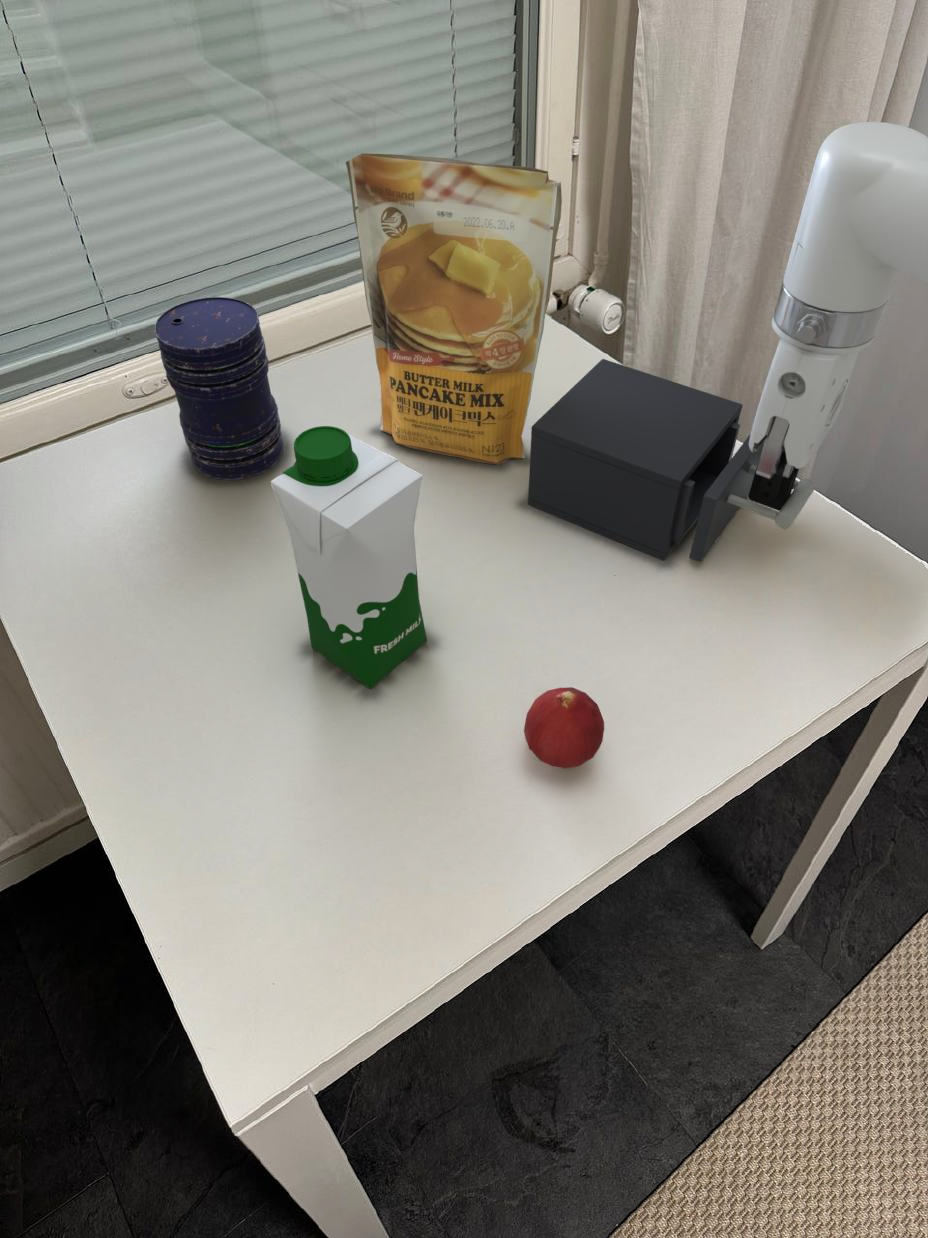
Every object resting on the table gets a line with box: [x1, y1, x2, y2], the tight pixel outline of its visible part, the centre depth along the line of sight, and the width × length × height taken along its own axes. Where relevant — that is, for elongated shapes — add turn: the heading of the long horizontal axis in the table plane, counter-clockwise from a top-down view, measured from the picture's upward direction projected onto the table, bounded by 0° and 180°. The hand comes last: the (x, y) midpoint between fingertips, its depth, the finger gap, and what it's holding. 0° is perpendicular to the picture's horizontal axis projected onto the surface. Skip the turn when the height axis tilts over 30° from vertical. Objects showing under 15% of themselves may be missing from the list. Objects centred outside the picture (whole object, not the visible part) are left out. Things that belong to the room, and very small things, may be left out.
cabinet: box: [527, 358, 743, 561], centre depth 86 cm, size 15×14×9 cm
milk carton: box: [270, 425, 428, 690], centre depth 69 cm, size 9×9×20 cm
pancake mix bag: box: [345, 152, 563, 466], centre depth 86 cm, size 7×19×28 cm, turn 71°
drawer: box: [671, 422, 816, 564], centre depth 83 cm, size 20×13×7 cm, turn 56°
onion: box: [523, 686, 605, 769], centre depth 65 cm, size 6×6×8 cm
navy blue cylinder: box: [154, 296, 285, 481], centre depth 89 cm, size 10×10×15 cm
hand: (767, 500), depth 80 cm, fingers closed
